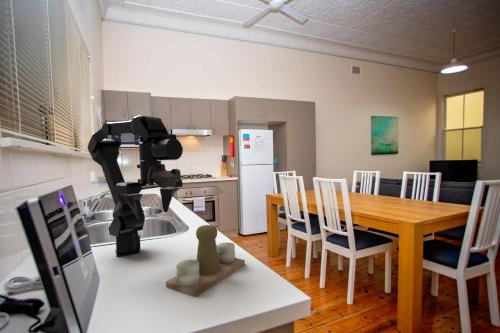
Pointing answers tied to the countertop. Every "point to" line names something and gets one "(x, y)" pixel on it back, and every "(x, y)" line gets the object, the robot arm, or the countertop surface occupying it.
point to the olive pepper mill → (207, 250)
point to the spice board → (196, 283)
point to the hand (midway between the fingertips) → (152, 215)
